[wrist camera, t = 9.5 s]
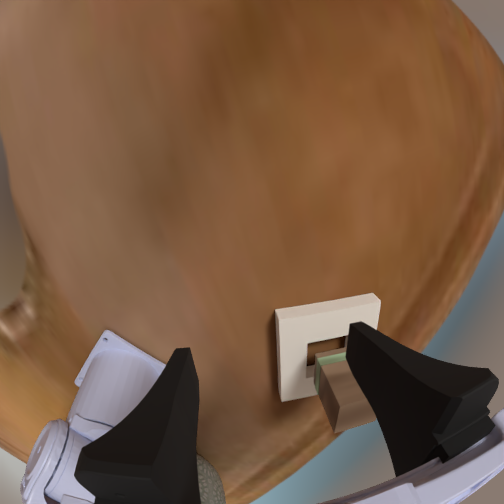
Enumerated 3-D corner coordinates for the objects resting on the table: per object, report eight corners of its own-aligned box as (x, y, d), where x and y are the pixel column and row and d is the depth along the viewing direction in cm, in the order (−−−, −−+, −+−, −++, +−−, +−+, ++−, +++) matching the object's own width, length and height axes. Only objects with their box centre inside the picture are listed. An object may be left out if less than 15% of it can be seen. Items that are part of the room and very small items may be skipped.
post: (349, 374, 24) (375, 420, 18) (312, 382, 24) (333, 433, 18) (354, 344, 23) (385, 392, 17) (314, 353, 22) (339, 406, 17)
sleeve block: (359, 372, 28) (366, 383, 26) (278, 390, 27) (281, 403, 25) (372, 292, 24) (382, 302, 23) (275, 309, 24) (279, 321, 22)
